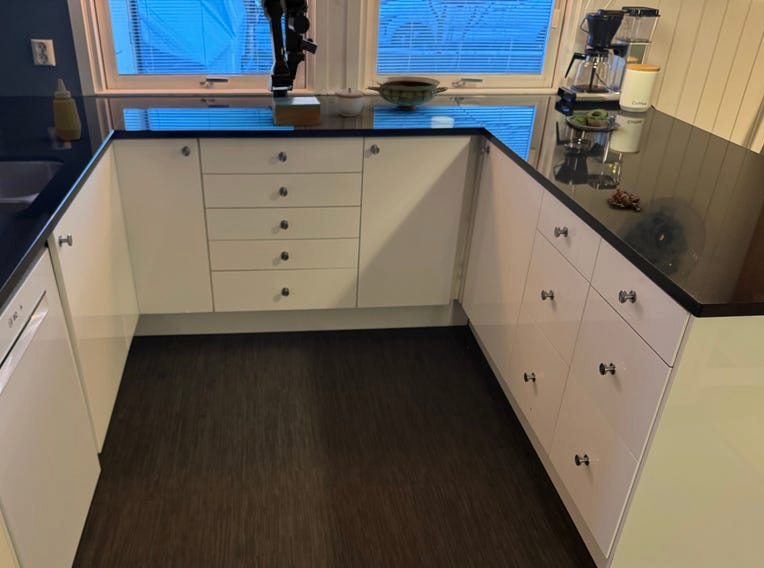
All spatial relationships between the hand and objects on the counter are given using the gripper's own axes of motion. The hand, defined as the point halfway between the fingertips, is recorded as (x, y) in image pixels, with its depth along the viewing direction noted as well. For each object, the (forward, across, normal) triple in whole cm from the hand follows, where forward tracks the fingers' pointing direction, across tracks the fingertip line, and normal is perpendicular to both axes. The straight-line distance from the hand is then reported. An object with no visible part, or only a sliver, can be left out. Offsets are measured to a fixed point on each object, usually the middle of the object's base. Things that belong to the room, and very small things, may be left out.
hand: (293, 79), depth 243 cm
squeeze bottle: (+13, -22, +75) cm, 79 cm away
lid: (+7, -6, 0) cm, 9 cm away
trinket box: (+13, +3, -21) cm, 25 cm away
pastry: (+13, -104, -70) cm, 126 cm away
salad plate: (+13, -25, -103) cm, 107 cm away
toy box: (+13, -6, 0) cm, 14 cm away
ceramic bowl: (+13, +11, -45) cm, 48 cm away
